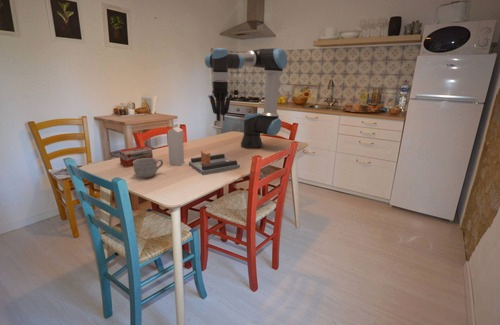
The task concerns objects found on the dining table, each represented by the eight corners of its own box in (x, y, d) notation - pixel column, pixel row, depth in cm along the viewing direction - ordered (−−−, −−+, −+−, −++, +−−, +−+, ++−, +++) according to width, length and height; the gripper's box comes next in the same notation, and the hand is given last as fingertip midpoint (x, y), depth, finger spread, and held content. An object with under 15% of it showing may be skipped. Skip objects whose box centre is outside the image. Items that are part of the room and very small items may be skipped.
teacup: (134, 180, 132) (133, 164, 129) (133, 173, 141) (132, 157, 139) (165, 177, 137) (164, 161, 135) (162, 170, 147) (161, 155, 144)
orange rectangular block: (205, 162, 155) (205, 150, 153) (210, 165, 150) (210, 153, 148) (201, 163, 154) (200, 150, 152) (205, 166, 149) (205, 153, 147)
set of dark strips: (223, 157, 166) (223, 153, 166) (237, 164, 154) (237, 161, 153) (191, 161, 156) (191, 158, 155) (203, 170, 143) (203, 166, 142)
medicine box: (126, 168, 149) (124, 153, 146) (120, 164, 154) (118, 150, 151) (153, 162, 159) (152, 148, 156) (146, 159, 164) (145, 145, 162)
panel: (223, 159, 168) (223, 156, 168) (239, 168, 154) (239, 164, 154) (188, 165, 156) (188, 161, 156) (202, 175, 142) (202, 171, 142)
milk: (169, 164, 156) (166, 125, 149) (174, 161, 161) (172, 123, 154) (179, 166, 154) (177, 126, 147) (184, 162, 160) (182, 124, 153)
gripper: (227, 80, 150) (227, 124, 157) (205, 80, 143) (206, 126, 150) (235, 81, 144) (234, 127, 151) (212, 81, 137) (212, 129, 144)
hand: (220, 126), depth 151 cm, fingers closed
